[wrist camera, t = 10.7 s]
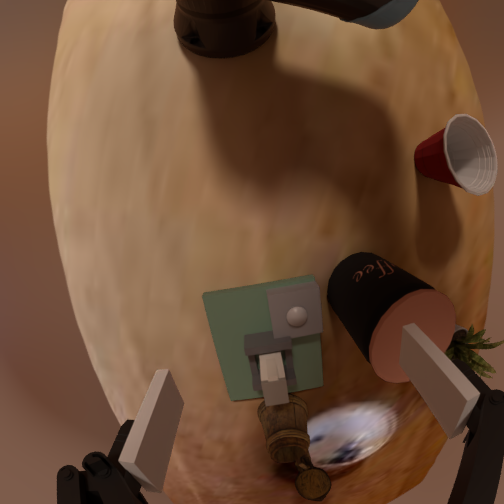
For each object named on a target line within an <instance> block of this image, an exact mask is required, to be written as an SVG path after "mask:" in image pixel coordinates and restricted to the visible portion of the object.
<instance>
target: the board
mask: <svg viewBox="0 0 504 504" xmlns="http://www.w3.org/2000/svg"><path fill="white" fill-rule="evenodd" d="M202 298H203V302H204V306H205V310H206V314H207V318H208V322H209V326H210V329H211V333H212V337H213V341H214V344H215V348H216V352H217V355H218V359H219V362H220V366H221V369H222V373H223V376H224V380H225V383H226V386H227V390H228V393H229V396H230V400H231V401H234V400H243V399H251V398H259V397H264V395H263V390H262V385H261V373H260V359H259V354H263V353H269V352H275V351H281V356H282V362H283V367H284V372H285V377H286V383H287V390H288V393H291V392H296V391H301V390H306V389H311V388H316V387H321V386H323V370H322V354H321V340H320V333H321V332H323V323H322V311H321V300H320V289H319V286H318V284H317V283H316V281H315V277H314V276H313V274H312V275H306V276H301V277H295V278H290V279H284V280H279V281H273V282H267V283H261V284H255V285H249V286H243V287H237V288H231V289H224V290H218V291H212V292H205V293H203V296H202Z"/></svg>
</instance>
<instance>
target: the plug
mask: <svg viewBox="0 0 504 504" xmlns="http://www.w3.org/2000/svg"><path fill="white" fill-rule="evenodd" d="M259 359H260V373H261V385H262V390H263V395H264V400H265V404H266V406H272V405H278V404H285V403H289V397H288V390H287V383H286V377H285V372H284V367H283V362H282V356H281V351H275V352H269V353H263V354H259Z"/></svg>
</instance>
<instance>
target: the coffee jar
mask: <svg viewBox="0 0 504 504" xmlns="http://www.w3.org/2000/svg"><path fill="white" fill-rule="evenodd" d="M327 293H328V299H329V303H330V305H331V306H332V308H333V310H334V311H335V313H336V314H337V316H338V317H339V319H340V320H341V322H342V323H343V325H344V326H345V328H346V329H347V331H348V332H349V334H350V335H351V337H352V338H353V340H354V341H355V343H356V344H357V346H358V347H359V349H360V350H361V352H362V353H363V355H364V357H365V358H366V360H367V361H368V362H369V363H371V365H372V367H373V369H374V371H375V373H376V375H378V376H379V377H380V378H382V379H383V380H384V381H387V382H392V383H401V382H408V381H411V380H410V379H409V378H408V376H407V375H406V373H405V372H404V370H403V369H402V368H401V366H400V365H399V359H400V350H401V340H402V328H403V326H405V325H408V324H411V323H415V324H416V325H417V326H418V327H419V328H420V329H421V330H422V331H423V332H424V333H425V334H426V336H427V337H428V338H429V339H430V340H431V341H432V342H433V343H434V344H435V345H436V346H437V347H438V348H439V349H440V350H441V351H442V352H443V353H445V351H446V350H447V348H448V346H449V345H450V343H451V340H452V337H453V334H454V331H455V323H456V314H455V310H454V305H453V304H452V302H451V301H450V300H449V298H448V297H447V296H446V295H444V294H442V293H440V292H438V291H436V290H435V289H434V288H433V287H432V286H430V285H428V284H427V283H425V282H423V281H422V280H420V279H418V278H417V277H415V276H413V275H411V274H410V273H408V272H406V271H404V270H403V269H401V268H399V267H397V266H396V265H394V264H392V263H390V262H389V261H387V260H385V259H383V258H381V257H379V256H377V255H375V254H373V253H367V252H360V253H356V254H353V255H350V256H349V257H347V258H346V259H344V260H342V261H341V262H340V263H339V264H338V266H337V267H336V268H335V269H334V271H333V273H332V275H331V277H330V279H329V283H328V290H327Z"/></svg>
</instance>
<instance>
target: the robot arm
mask: <svg viewBox="0 0 504 504" xmlns="http://www.w3.org/2000/svg"><path fill="white" fill-rule="evenodd" d="M271 1H274V2H279V3H284V4H289V5H293V6H298V7H302V8H306V9H310V10H314V11H317V12H321V13H325V14H328V15H331V16H334V17H338V18H339V19H340V20H342V21H345V22H350V23H356V24H359V25H362V26H365V27H368V28H371V29H386V28H389V27H391V26H394V25H395V24H397V23H399V22H400V21H401V20H402V19H404V18H405V17H406V16H407V15H408V14H409V13H410V12H411V10H412V9H413V8H414V7H415V5H416V4H417V2H418V0H176V2H177V3H176V9H175V15H174V29H175V32H176V34H177V36H178V38H179V40H180V42H181V43H182V44H183V45H184V46H185V47H186V48H187V49H188V50H190V51H192V52H194V53H196V54H198V55H201V56H205V57H210V58H230V57H236V56H240V55H243V54H246V53H249V52H251V51H253V50H255V49H256V48H258V47H259V46H261V45H262V44H263V43H264V42H265V41H266V40H267V39H268V38H269V37H270V35H271V33H272V31H273V28H274V23H275V9H274V6H273V4H272V2H271ZM399 365H400V366H401V368H402V369H403V370H404V372H405V373H406V375H407V376H408V378H409V379H410V380H411V382H412V383H413V385H414V386H415V388H416V389H417V390H418V392H419V393H420V395H421V396H422V398H423V399H424V401H425V402H426V404H427V405H428V407H429V408H430V410H431V411H432V413H433V414H434V416H435V417H436V419H437V420H438V422H439V423H440V425H441V426H442V428H443V430H444V431H445V433H446V434H447V436H448V437H449V439H452V438H454V437H455V436H457V435H459V434H461V433H462V432H463V430H464V428H465V426H466V425H467V427H468V428H469V431H468V433H467V435H466V437H465V438H464V441H463V443H465V441H466V443H465V447H464V452H463V456H462V460H461V463H460V467H459V470H458V474H457V477H456V480H455V483H454V487H453V489H452V492H451V495H450V498H449V500H448V504H494V501H495V497H496V493H497V488H498V484H499V480H500V475H501V469H502V463H503V457H504V392H503V391H501V390H497V389H496V390H491V389H490V388H489V387H488V386H487V385H486V384H485V383H484V382H483V380H482V379H481V378H480V377H479V376H478V375H477V374H475V372H474V371H473V370H472V369H471V368H470V367H469V366H468V365H467V364H466V363H465V362H464V361H461V360H459V359H455V360H453V361H451V360H450V359H449V358H448V357H447V356H446V355H445V354H444V353H443V352H442V351H441V350H440V349H439V348H438V347H437V346H436V345H435V344H434V343H433V342H432V341H431V340H430V339H429V338H428V337H427V336H426V334H425V333H424V332H423V331H422V330H421V329H420V328H419V327H418V326H417V325H416V324H415V323H411V324H408V325H405V326H403V328H402V340H401V350H400V359H399ZM183 406H184V402H183V400H182V397H181V395H180V393H179V391H178V389H177V386H176V384H175V382H174V380H173V377H172V375H171V373H170V370H169V369H161V370H156V372H155V375H154V377H153V379H152V381H151V384H150V386H149V388H148V391H147V393H146V395H145V397H144V400H143V402H142V404H141V407H140V409H139V411H138V414H137V416H136V418H135V420H127V421H126V422H125V423H124V424H123V425H122V426H121V428H120V430H119V432H118V435H117V437H116V439H115V441H114V443H113V446H112V448H111V450H110V452H109V455H108V457H106V456H105V454H103V453H101V452H92V453H89V454H88V455H86V457H85V458H84V459H83V462H82V467H83V468H84V469H85V470H86V471H78V469H76V467H74V466H72V465H67V466H64V467H62V468H61V469H60V470H59V471H58V474H57V504H148V502H147V501H146V499H145V498H144V496H143V494H142V493H141V492H140V488H141V486H142V487H143V488H144V489H145V490H146V491H151V492H158V493H161V492H162V489H163V484H164V480H165V476H166V472H167V468H168V464H169V460H170V456H171V452H172V448H173V444H174V440H175V436H176V432H177V428H178V425H179V421H180V417H181V413H182V409H183Z"/></svg>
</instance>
